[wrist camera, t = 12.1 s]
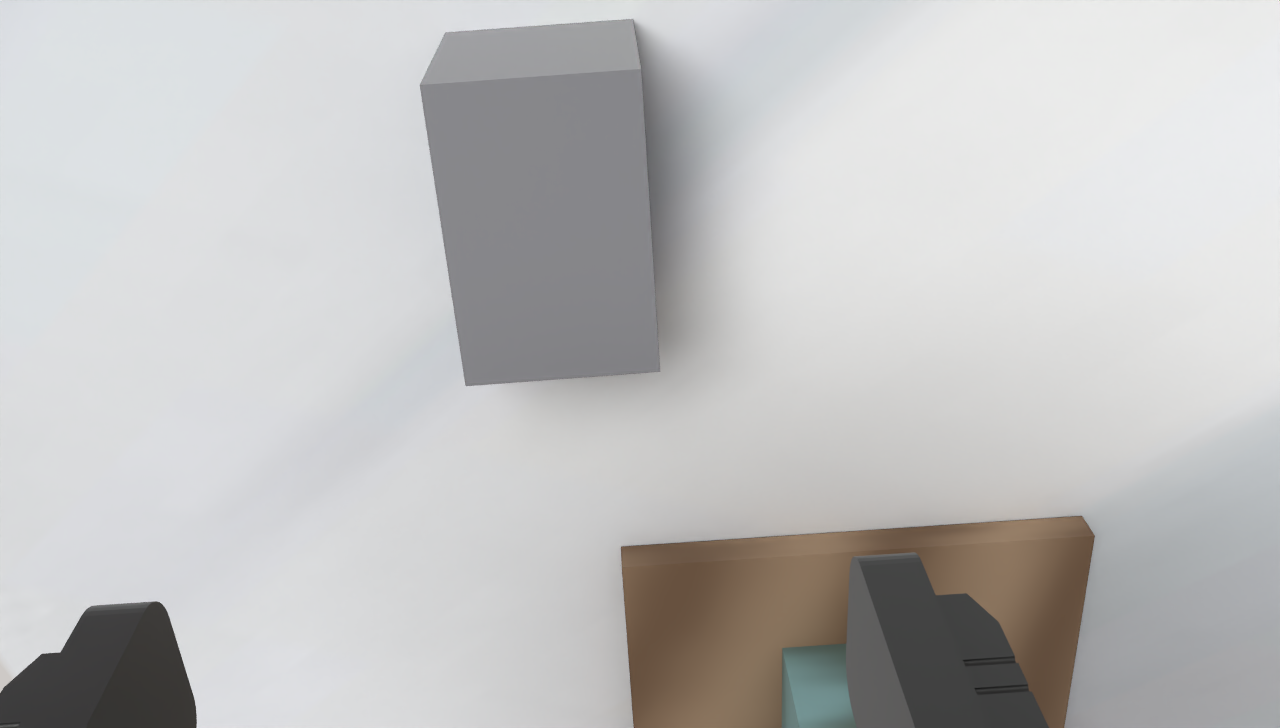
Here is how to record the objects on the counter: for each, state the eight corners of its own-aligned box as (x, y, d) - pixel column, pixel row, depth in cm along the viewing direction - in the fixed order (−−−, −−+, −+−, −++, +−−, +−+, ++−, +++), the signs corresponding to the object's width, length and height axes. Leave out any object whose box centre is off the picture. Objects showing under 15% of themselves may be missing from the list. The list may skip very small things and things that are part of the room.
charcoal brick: (632, 18, 28) (640, 69, 24) (649, 283, 31) (659, 371, 27) (446, 31, 28) (419, 85, 24) (482, 295, 31) (465, 386, 27)
